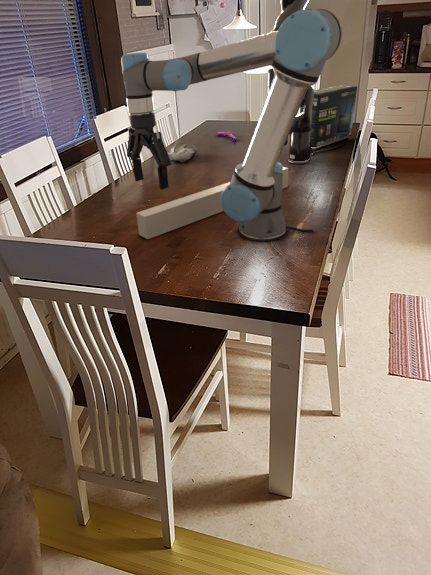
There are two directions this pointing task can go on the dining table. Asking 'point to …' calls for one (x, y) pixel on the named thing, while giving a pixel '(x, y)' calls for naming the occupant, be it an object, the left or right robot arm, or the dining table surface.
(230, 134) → the handgun
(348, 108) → the router box
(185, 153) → the fossil
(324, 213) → the dining table surface
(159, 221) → the beam
